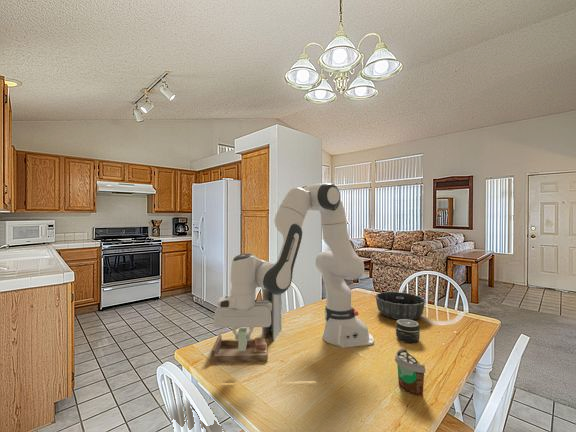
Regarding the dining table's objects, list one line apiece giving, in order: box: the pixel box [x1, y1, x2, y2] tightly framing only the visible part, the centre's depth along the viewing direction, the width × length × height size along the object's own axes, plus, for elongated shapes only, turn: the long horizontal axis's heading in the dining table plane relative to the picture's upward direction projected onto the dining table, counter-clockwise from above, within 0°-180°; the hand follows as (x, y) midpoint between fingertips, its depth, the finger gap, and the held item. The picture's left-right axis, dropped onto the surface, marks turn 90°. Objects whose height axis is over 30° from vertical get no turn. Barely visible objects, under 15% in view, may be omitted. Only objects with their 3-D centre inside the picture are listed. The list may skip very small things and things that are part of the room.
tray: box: [210, 334, 269, 364], centre depth 115 cm, size 21×14×5 cm, turn 92°
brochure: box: [261, 288, 282, 342], centre depth 134 cm, size 14×6×30 cm, turn 168°
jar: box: [395, 318, 421, 345], centre depth 129 cm, size 10×10×8 cm
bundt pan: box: [374, 291, 427, 321], centre depth 161 cm, size 26×26×10 cm
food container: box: [394, 347, 426, 397], centre depth 94 cm, size 12×6×10 cm, turn 5°
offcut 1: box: [254, 337, 266, 351], centre depth 116 cm, size 4×6×2 cm, turn 10°
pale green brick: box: [237, 327, 248, 351], centre depth 102 cm, size 2×6×6 cm, turn 2°
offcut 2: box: [254, 343, 267, 354], centre depth 116 cm, size 5×8×2 cm, turn 2°
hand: (242, 338), depth 102 cm, fingers closed on pale green brick, 2 cm apart
